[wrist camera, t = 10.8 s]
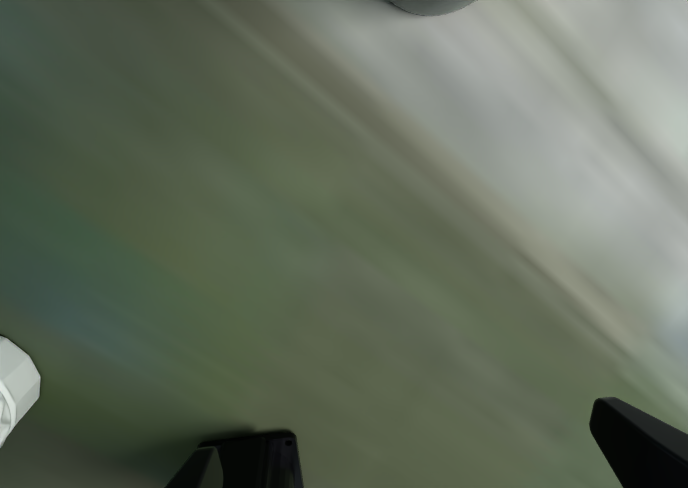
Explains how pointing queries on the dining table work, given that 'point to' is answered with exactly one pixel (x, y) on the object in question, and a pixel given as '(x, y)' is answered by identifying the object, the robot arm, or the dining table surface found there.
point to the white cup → (15, 386)
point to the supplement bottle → (431, 6)
